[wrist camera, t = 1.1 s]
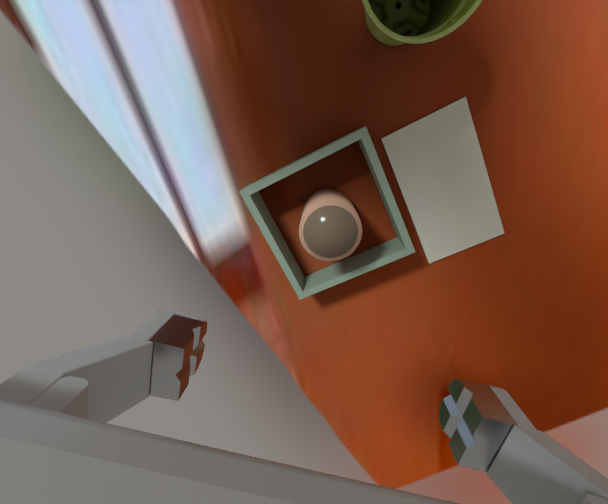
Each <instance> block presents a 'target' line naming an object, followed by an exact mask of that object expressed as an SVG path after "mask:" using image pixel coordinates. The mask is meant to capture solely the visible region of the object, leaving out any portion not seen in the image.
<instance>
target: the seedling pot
mask: <svg viewBox="0 0 608 504" xmlns="http://www.w3.org/2000/svg"><path fill="white" fill-rule="evenodd" d="M299 237H300V241H301V243H302V246H303V247H304V249H305V250H306V251H307V252H308V253H309V254H310V255H311V256H313V257H315V258H316V259H319V260H322V261H338V260H341V259H344V258H346V257H348V256H349V255H350V254H352V253H353V252H354V251H355V250H356V248H357V247H358V245H359V243H360V241H361V237H362V224H361V221H360V218H359V216H358V214H357V212H356V210H355V208H354V206H353V204H352V202H351V200H350V198H349V197H348V196H347V195H346V194H345V193H344V192H342V191H341V190H338V189H335V188H323V189H319V190H317V191H315V192H314V193H312V194H311V195H310V196H309V197H308V199H307V200H306V202H305V204H304V208H303V212H302V217H301V221H300V226H299Z"/></svg>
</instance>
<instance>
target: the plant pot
mask: <svg viewBox="0 0 608 504" xmlns="http://www.w3.org/2000/svg"><path fill="white" fill-rule="evenodd" d="M362 2H363V5H364V8H365V20H366V24H367V26H368V29H369V31H370V32H371V34H372V35H373V36H374V37H375V38H376V39H377V40H378V41H380V42H382V43H384V44H386V45H390V46H397V45H402V44H405V43H410V44H421V43H427V42H431V41H435V40H437V39H440V38H442V37H444V36H446V35H447V34H449V33H451V32H452V31H454V30H455V29H457V28H458V27H459V26H460V25H462V24H463V23H464V22H465V21H466V20H467V19H468V18H469V17H470V16H471V15H472V14H473V13H474V11H475V10H476V9H477V8H478V6H479V5H480V3H481V2H482V0H425V3H422V0H362ZM398 2H399V3H400V4H401V8H400V9H396V3H398ZM372 10H373V11H374V12H373V11H372ZM408 30H411V33H410V34H409V35H408V36H402V35H400V34H403V33H405V32H407V31H408Z"/></svg>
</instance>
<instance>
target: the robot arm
mask: <svg viewBox="0 0 608 504" xmlns="http://www.w3.org/2000/svg"><path fill="white" fill-rule="evenodd" d="M206 330H207V322H206V321H205V320H201V319H197V318H193V317H189V316H185V315H181V314H176V313H174V312H169V311H164V310H159V311H157V312H156V313H155V314H154V315H153V316H152V317H151V318H149V319H148V320H147V321H146V322H145V323H144V324H143V325H142V326H141V327H140V328H139V329H137V330H136V331H135V332H134V333H133V334H132V335H131V336H130V337H129V336H122V337H119V338H115V339H112V340H109V341H105V342H102V343H99V344H95V345H92V346H89V347H85V348H82V349H79V350H76V351H72V352H69V353H65V354H62V355H59V356H56V357H52V358H49V359H46V360H42V361H39V362H36V363H32V364H29V365H27V366H26V367H25V368H23V369H22V370H20V371H19V372H17V373H16V374H15V375H13V376H12V377H10V378H9V379H7V380H6V381H5V382H3V383H2V384H0V504H458V503H454V502H449V501H445V500H440V499H436V498H432V497H427V496H423V495H419V494H415V493H410V492H406V491H401V490H397V489H393V488H388V487H384V486H380V485H375V484H371V483H366V482H362V481H358V480H353V479H348V478H344V477H340V476H336V475H331V474H327V473H322V472H318V471H313V470H309V469H304V468H300V467H296V466H291V465H287V464H282V463H278V462H274V461H269V460H265V459H261V458H256V457H252V456H247V455H243V454H239V453H234V452H229V451H226V450H221V449H217V448H212V447H208V446H204V445H199V444H195V443H191V442H186V441H182V440H177V439H173V438H169V437H164V436H160V435H156V434H151V433H146V432H142V431H138V430H134V429H129V428H125V427H120V426H116V425H111V424H107V422H108V421H110V420H111V419H113V418H115V417H116V416H118V415H120V414H121V413H123V412H125V411H126V410H128V409H130V408H131V407H133V406H135V405H136V404H138V403H139V402H141V401H143V400H144V399H146V398H148V397H149V395H151V396H157V397H161V398H166V399H171V400H177V401H178V400H179V399H180V397H181V395H182V394H183V392H184V390H185V389H186V387H187V385H188V382H189V376H191V375H193V374H195V372H196V370H197V369H198V367H199V364H200V362H201V359H202V355H203V351H204V345H205V344H204V342H203V341H202V338H203V337H204V335H205V334H206ZM448 390H449V393H450V395H449V396H447V397H446V398H444V399H443V400H442V403H441V405H440V409H439V419H440V424H441V427H442V429H443V431H444V432H445V433H446V434H447V435H448V436H449V437H450V438H451V440H450V442H449V446H450V448H451V450H452V452H453V455H454V457H455V459H456V462H457V464H458V465H460V466H464V467H468V468H472V469H476V470H480V471H483V472H487V475H488V476H489V477H490V478H491V480H492V481H493V482H494V483H495V484H496V485H497V486H498V488H499V489H500V490H501V491H502V492H503V493H504V494H505V495H506V497H507V498H508V499H509V500H510V501H511V502H512V503H513V504H608V479H607V478H606V477H604V476H603V475H601V474H600V473H599V472H597V471H596V470H595V469H593V468H592V467H590V466H589V465H588V464H586V463H585V462H584V461H582V460H581V459H579V458H578V457H577V456H575V455H574V454H573V453H571V452H570V451H568V450H567V449H566V448H564V447H563V446H562V445H560V444H559V443H557V442H556V441H554V440H553V439H552V438H551V437H549V436H548V435H546V434H545V433H544V432H542V431H538V430H536V428H535V427H534V426H533V424H532V423H531V422H530V421H529V419H528V418H527V417H526V415H525V414H524V413H523V412H522V410H521V409H520V408H519V406H518V405H517V404H516V403H515V401H514V400H513V399H512V397H511V396H510V395H509V394H508V392H507V391H506V390H504V389H503V388H500V387H495V386H490V385H483V384H478V383H474V382H469V381H464V380H460V379H454V380H453V381H452V382H451V383H450V385H449V387H448Z"/></svg>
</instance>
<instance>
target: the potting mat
mask: <svg viewBox="0 0 608 504" xmlns="http://www.w3.org/2000/svg"><path fill="white" fill-rule="evenodd" d="M381 140H382V143H383V145H384V148H385V150H386V153H387V156H388V158H389V161H390V163H391V166H392V169H393V171H394V174H395V177H396V179H397V182H398V184H399V187H400V190H401V192H402V195H403V197H404V200H405V203H406V205H407V208H408V210H409V213H410V216H411V218H412V221H413V223H414V226H415V229H416V231H417V234H418V236H419V239H420V242H421V244H422V247H423V250H424V252H425V255H426V257H427V260H428V263H429V264H430V263H432V262H435V261H437V260H440V259H442V258H445V257H447V256H450V255H452V254H455V253H457V252H460V251H462V250H465V249H467V248H470V247H472V246H475V245H477V244H480V243H482V242H485V241H487V240H490V239H492V238H495V237H497V236H500V235H502V234H505V233H504V230H503V226H502V222H501V219H500V215H499V212H498V208H497V205H496V201H495V198H494V194H493V191H492V187H491V184H490V180H489V177H488V173H487V169H486V166H485V162H484V159H483V155H482V152H481V148H480V145H479V141H478V138H477V134H476V131H475V127H474V124H473V120H472V116H471V113H470V109H469V106H468V102H467V99H466V97H464V98H462V99H460V100H458V101H456V102H454V103H452V104H450V105H448V106H446V107H444V108H442V109H440V110H438V111H436V112H434V113H432V114H430V115H428V116H426V117H424V118H422V119H420V120H418V121H416V122H414V123H412V124H410V125H408V126H406V127H404V128H401V129H399V130H397V131H395V132H393V133H391V134H389V135H387V136H385V137H383V138H381Z"/></svg>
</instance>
